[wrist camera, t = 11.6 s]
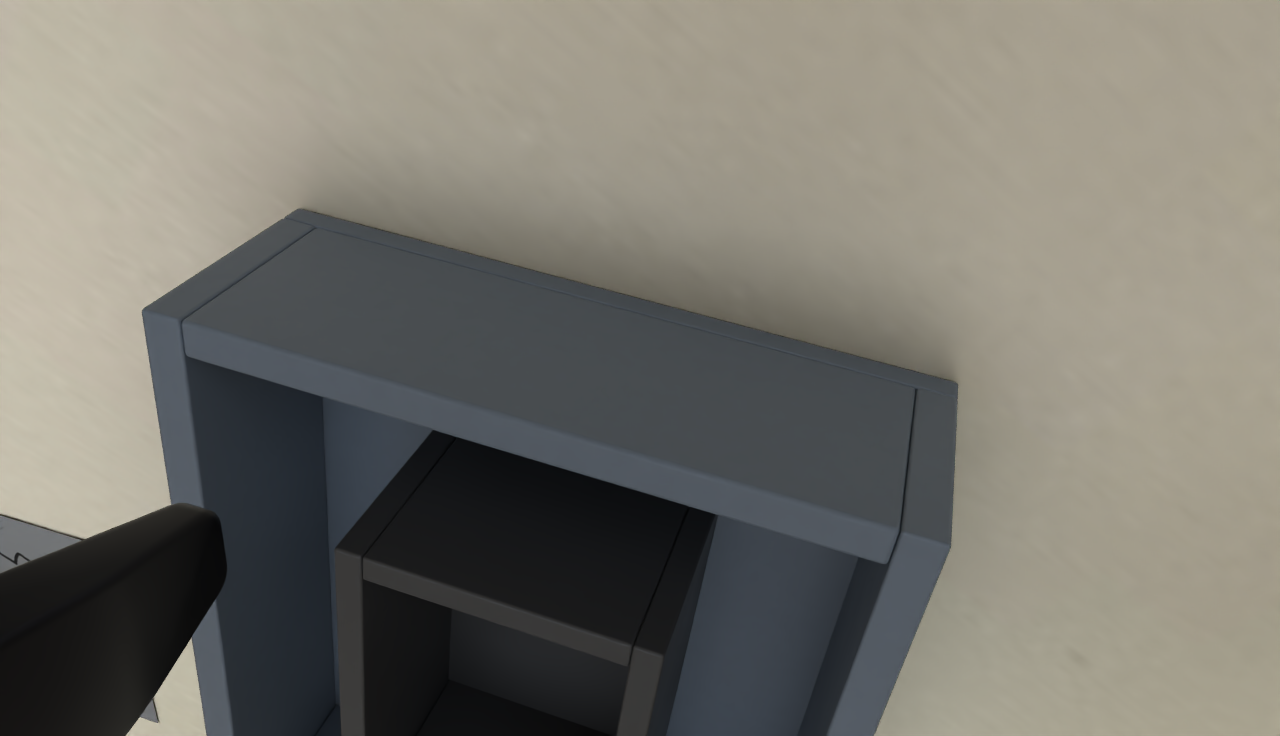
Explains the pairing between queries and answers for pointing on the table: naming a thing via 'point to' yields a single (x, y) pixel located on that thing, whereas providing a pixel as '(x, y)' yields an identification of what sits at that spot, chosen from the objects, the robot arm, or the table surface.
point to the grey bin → (552, 434)
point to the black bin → (514, 600)
